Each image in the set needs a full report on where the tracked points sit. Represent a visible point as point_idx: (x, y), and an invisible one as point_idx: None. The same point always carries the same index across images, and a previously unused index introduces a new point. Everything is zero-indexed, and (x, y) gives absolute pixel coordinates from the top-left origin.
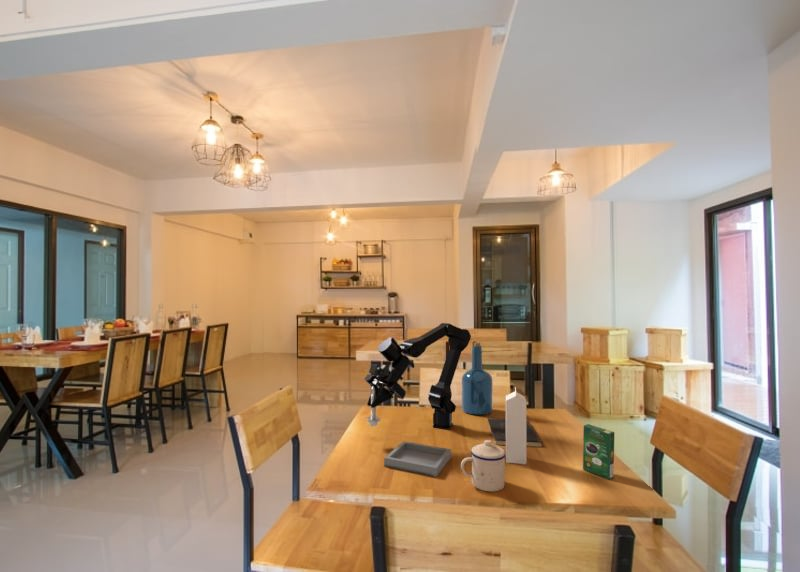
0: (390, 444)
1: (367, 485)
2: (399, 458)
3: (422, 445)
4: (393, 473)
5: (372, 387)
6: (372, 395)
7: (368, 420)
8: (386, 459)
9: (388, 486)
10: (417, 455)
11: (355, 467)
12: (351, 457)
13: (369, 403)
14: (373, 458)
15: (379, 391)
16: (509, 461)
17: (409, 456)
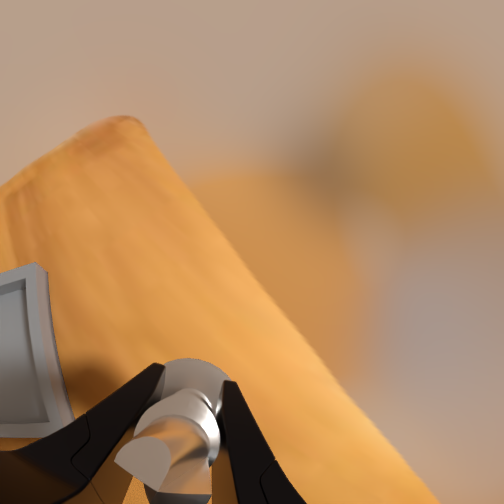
0: None
1: (43, 177)
2: (29, 334)
3: (3, 428)
4: (14, 255)
5: (167, 469)
6: (160, 413)
7: (191, 363)
8: (30, 265)
9: (6, 203)
10: (6, 388)
11: (112, 215)
12: (170, 254)
13: (219, 399)
14: (103, 296)
15: (60, 483)
16: None
17: (16, 367)
